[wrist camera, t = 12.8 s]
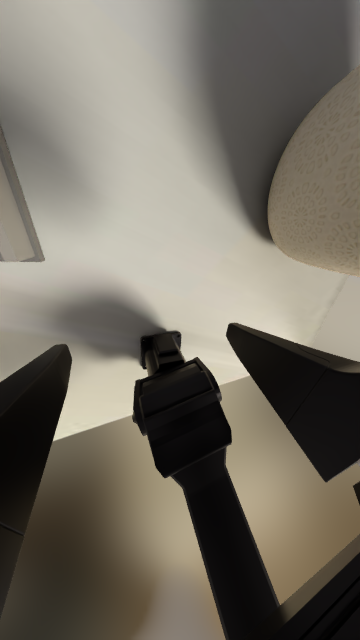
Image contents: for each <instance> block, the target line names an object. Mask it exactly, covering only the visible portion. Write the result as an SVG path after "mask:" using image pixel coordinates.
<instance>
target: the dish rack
mask: <svg viewBox="0 0 360 640" xmlns="http://www.w3.org/2000/svg"><path fill="white" fill-rule="evenodd" d="M0 261H5V262H42V261H45V258H44V255H43V252H42V249H41V246H40V243H39V240H38V237H37V234H36V231H35V228H34V225H33V222H32V219H31V216H30V213H29V210H28V207H27V204H26V201H25V198H24V195H23V192H22V189H21V186H20V183H19V180H18V177H17V174H16V171H15V168H14V165H13V162H12V159H11V156H10V153H9V150H8V147H7V144H6V141H5V138H4V135H3V132H2V129H1V126H0Z"/></svg>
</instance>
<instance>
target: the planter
mask: <svg viewBox="0 0 360 640" xmlns="http://www.w3.org/2000/svg"><path fill="white" fill-rule="evenodd" d="M268 224H269V229H270V233H271V236H272V238H273V241H274V242H275V244H276V245H277V247H278V248H279V249H280V250H281V251H282V252H283V253H284V254H285V255H287V256H288V257H290V258H292V259H294V260H296V261H299V262H302V263H304V264H307V265H311V266H314V267H318V268H322V269H326V270H330V271H334V272H339V273H343V274H348V275H352V276H357V277H360V65H359V66H358V67H356V68H355V69H354V70H353V71H352V72H351V73H349V74H348V75H347V76H346V77H345V78H343V79H342V80H341V81H340V82H339V83H338V84H336V85H335V86H334V87H333V88H332V89H331V90H330V91H329V92H328V93H327V94H326V95H325V96H324V97H323V98H322V99H321V100H320V101H319V102H318V103H317V104H316V105H315V107H314V108H313V109H312V110H311V111H310V112H309V114H308V115H307V116H306V117H305V119H304V120H303V121H302V123H301V124H300V125H299V127H298V128H297V130H296V131H295V133H294V135H293V136H292V138H291V139H290V141H289V143H288V145H287V147H286V148H285V150H284V152H283V155H282V157H281V159H280V161H279V164H278V166H277V169H276V171H275V174H274V177H273V181H272V184H271V188H270V193H269V199H268Z"/></svg>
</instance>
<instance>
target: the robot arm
mask: <svg viewBox="0 0 360 640" xmlns="http://www.w3.org/2000/svg"><path fill="white" fill-rule="evenodd" d="M177 335H179V336H177ZM226 337H227V339H228V341H229V343H230V344H231V346H232V348H233V350H234V352H235V353H236V355H237V357H238V358H239V360H240V361H241V362H242V364H243V365H244V367H245V368H246V370H247V371H248V373H249V374H250V375H251V377H252V378H253V380H254V381H255V383H256V384H257V385H258V387H259V388H260V390H261V391H262V393H263V394H264V395H265V397H266V398H267V400H268V401H269V403H270V404H271V405H272V407H273V408H274V410H275V411H276V413H277V414H278V416H279V417H280V418H281V420H282V421H283V422H284V424H285V425H286V427H287V429H288V430H289V431H290V433H291V434H292V436H293V437H294V439H295V440H296V441H297V443H298V444H299V446H300V447H301V449H302V450H303V452H304V453H305V454H306V456H307V457H308V459H309V460H310V462H311V463H312V464H313V466H314V467H315V469H316V470H317V471H318V473H319V474H320V476H321V477H322V479H323V480H324V481H325V482H328V481H329V480H331V479H333V478H334V477H336V476H337V475H339V474H340V473H342V472H343V471H345V470H346V469H348V468H350V467H351V466H353V465H354V464H356V463H357V464H358V465H359V466H360V362H357V361H353V360H350V359H347V358H343V357H340V356H336V355H333V354H329V353H326V352H323V351H320V350H316V349H313V348H310V347H307V346H304V345H301V344H298V343H294V342H292V341H289V340H286V339H283V338H280V337H277V336H274V335H271V334H268V333H265V332H262V331H259V330H256V329H253V328H250V327H247V326H244V325H241V324H238V323H230V324H229V325H228V328H227V332H226ZM143 340H144V341H143ZM140 341H141V356H142V368H143V369H147V372H148V377H146V378H144V379H141V380H140V379H139V380H136V382H135V388H134V404H133V411H134V412H133V415H132V419H133V422H134V423H136V424H138V426H139V429H140V431H141V433H142V435H143V436H145V435H147V436H148V440H149V444H150V447H151V451H152V454H153V458H154V462H155V466H156V468H157V470H158V471H159V472H160V473H161V475H162V476H163V477H164V478H167V477H169V476H171V477H172V478H173V479H174V480H175V481H176V482H177V483H178V484H179V485H180V486H181V487H182V489H183V491H184V495H185V498H186V501H187V505H188V509H189V512H190V516H191V519H192V523H193V526H194V530H195V533H196V537H197V540H198V544H199V547H200V551H201V554H202V558H203V561H204V565H205V568H206V572H207V575H208V579H209V582H210V586H211V589H212V593H213V596H214V600H215V603H216V607H217V610H218V614H219V617H220V621H221V624H222V628H223V631H224V635H225V638H226V640H360V534H359V535H358V536H357V537H356V538H355V539H354V540H353V541H352V542H350V543H349V544H348V545H347V546H346V547H345V548H344V549H343V550H342V551H340V552H339V553H338V554H337V555H336V556H335V557H334V558H333V559H332V560H331V561H329V562H328V563H327V564H326V565H325V566H324V567H323V568H322V569H321V570H319V571H318V572H317V573H316V574H315V575H314V576H313V577H312V578H310V579H309V580H308V581H307V582H306V583H305V584H304V585H303V586H302V587H301V588H299V589H298V590H297V591H296V592H295V593H294V594H293V595H292V596H290V597H289V598H288V599H287V600H286V601H285V602H284V603H283V604H282V605H280V604H279V602H278V599H277V597H276V594H275V592H274V589H273V586H272V584H271V581H270V579H269V576H268V573H267V571H266V568H265V566H264V563H263V561H262V558H261V555H260V553H259V550H258V548H257V545H256V543H255V540H254V537H253V535H252V532H251V530H250V527H249V525H248V522H247V519H246V517H245V514H244V512H243V509H242V507H241V504H240V502H239V499H238V496H237V494H236V491H235V489H234V486H233V483H232V481H231V478H230V476H229V473H228V470H227V468H226V465H225V463H226V447H227V446H228V445H231V443H232V436H231V428H230V426H229V424H228V421H227V419H226V417H225V415H224V412H223V410H222V407H221V405H220V401H221V400H222V397H221V392H220V389H219V386H218V384H217V382H216V380H215V378H214V376H213V375H212V373H211V372H210V370H209V369H208V368H207V367H206V366H205V365H204V364H203V363H202V362H201V360H200V359H199V358H198V357H196V358H194V359H193V360H190V361H188V362H186V361H185V359H184V357H183V355H182V353H181V351H180V347H181V333H180V332H176V333H166V334H158V335H153V336H145V337H142V338H141V339H140ZM71 364H72V357H71V354H70V351H69V348H68V346H67V345H66V344H59V345H55V346H53V347H52V348H50V349H49V350H47V351H46V352H44V353H43V354H41V355H40V356H38V357H37V358H35V359H34V360H32V361H31V362H30V363H28V364H27V365H25V366H24V367H22V368H21V369H19V370H18V371H16V372H15V373H13V374H12V375H10V376H9V377H7V378H6V379H4V380H3V381H1V382H0V618H1V615H2V611H3V608H4V605H5V601H6V598H7V594H8V591H9V588H10V584H11V581H12V577H13V574H14V571H15V567H16V564H17V561H18V557H19V554H20V550H21V547H22V544H23V540H24V535H25V532H26V529H27V526H28V522H29V519H30V516H31V512H32V509H33V506H34V502H35V499H36V495H37V492H38V488H39V485H40V482H41V478H42V475H43V471H44V468H45V465H46V462H47V458H48V454H49V451H50V447H51V445H52V441H53V438H54V434H55V431H56V428H57V424H58V421H59V417H60V414H61V411H62V407H63V404H64V400H65V397H66V393H67V389H68V383H69V377H70V370H71ZM145 366H146V367H145ZM353 488H354V490H355V493H356V496H357V499H358V501H359V504H360V481H359V482H357V483H356V484H355V485H354V486H353Z"/></svg>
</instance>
